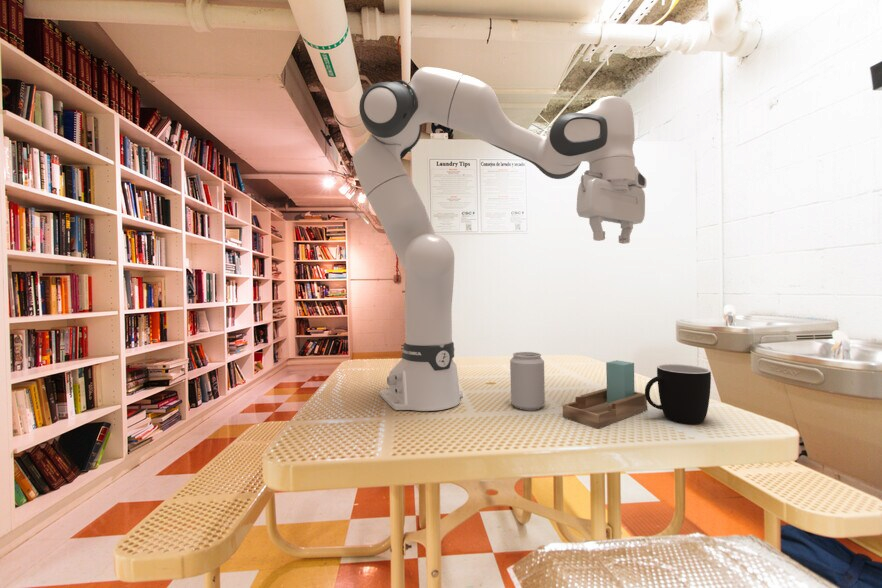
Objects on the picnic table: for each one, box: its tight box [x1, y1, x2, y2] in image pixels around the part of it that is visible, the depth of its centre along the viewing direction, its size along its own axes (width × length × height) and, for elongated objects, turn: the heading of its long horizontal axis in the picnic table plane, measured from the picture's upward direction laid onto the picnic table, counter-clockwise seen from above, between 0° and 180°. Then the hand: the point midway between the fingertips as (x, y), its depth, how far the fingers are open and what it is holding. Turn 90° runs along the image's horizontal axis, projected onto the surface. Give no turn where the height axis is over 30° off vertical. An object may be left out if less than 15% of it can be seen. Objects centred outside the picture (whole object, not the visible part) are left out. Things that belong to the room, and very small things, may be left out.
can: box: [509, 351, 546, 411], centre depth 84 cm, size 8×8×12 cm
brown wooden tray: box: [562, 387, 648, 430], centre depth 78 cm, size 8×18×4 cm, turn 124°
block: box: [605, 359, 636, 404], centre depth 81 cm, size 4×4×9 cm
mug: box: [644, 363, 712, 425], centre depth 74 cm, size 12×9×10 cm
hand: (612, 241), depth 80 cm, fingers open, 8 cm apart
